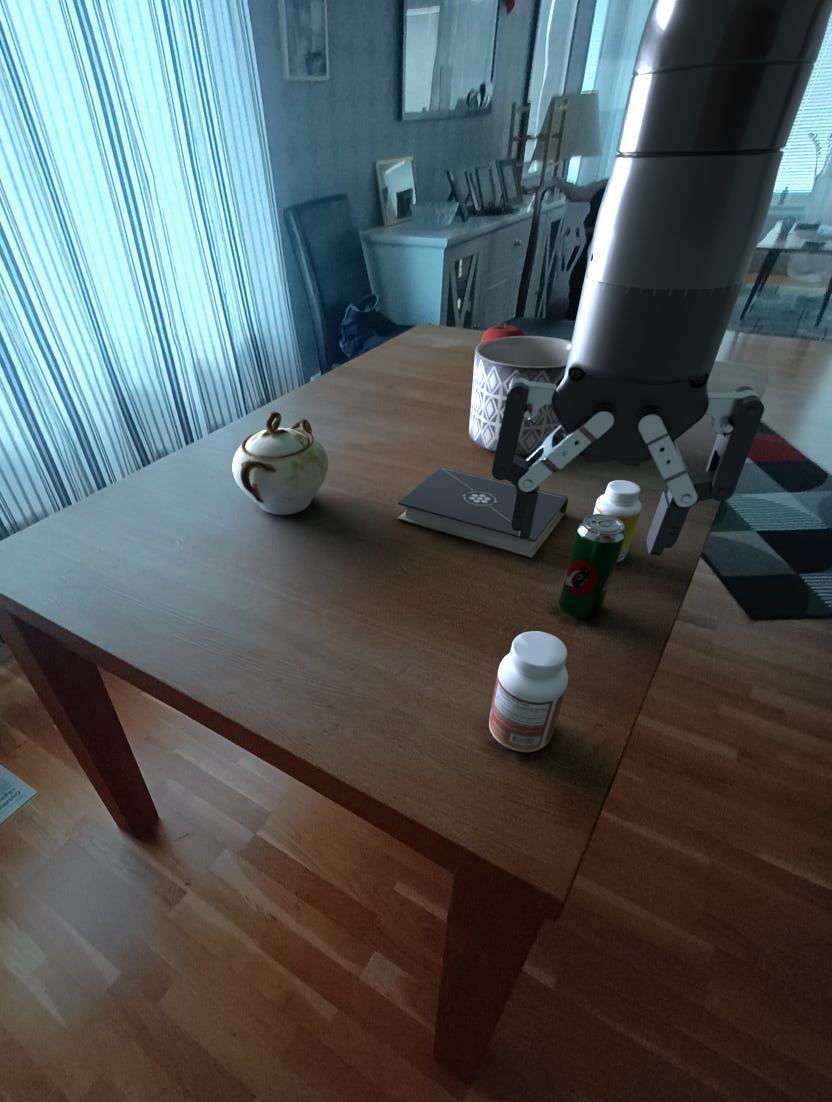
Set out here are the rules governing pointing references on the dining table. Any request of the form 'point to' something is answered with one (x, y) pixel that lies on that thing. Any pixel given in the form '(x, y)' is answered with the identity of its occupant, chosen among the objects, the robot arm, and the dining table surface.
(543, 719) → the pill bottle
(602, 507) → the supplement bottle
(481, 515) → the book
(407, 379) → the dining table surface
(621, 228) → the robot arm
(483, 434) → the planter
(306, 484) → the sugar bowl
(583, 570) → the soda can
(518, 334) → the apple
